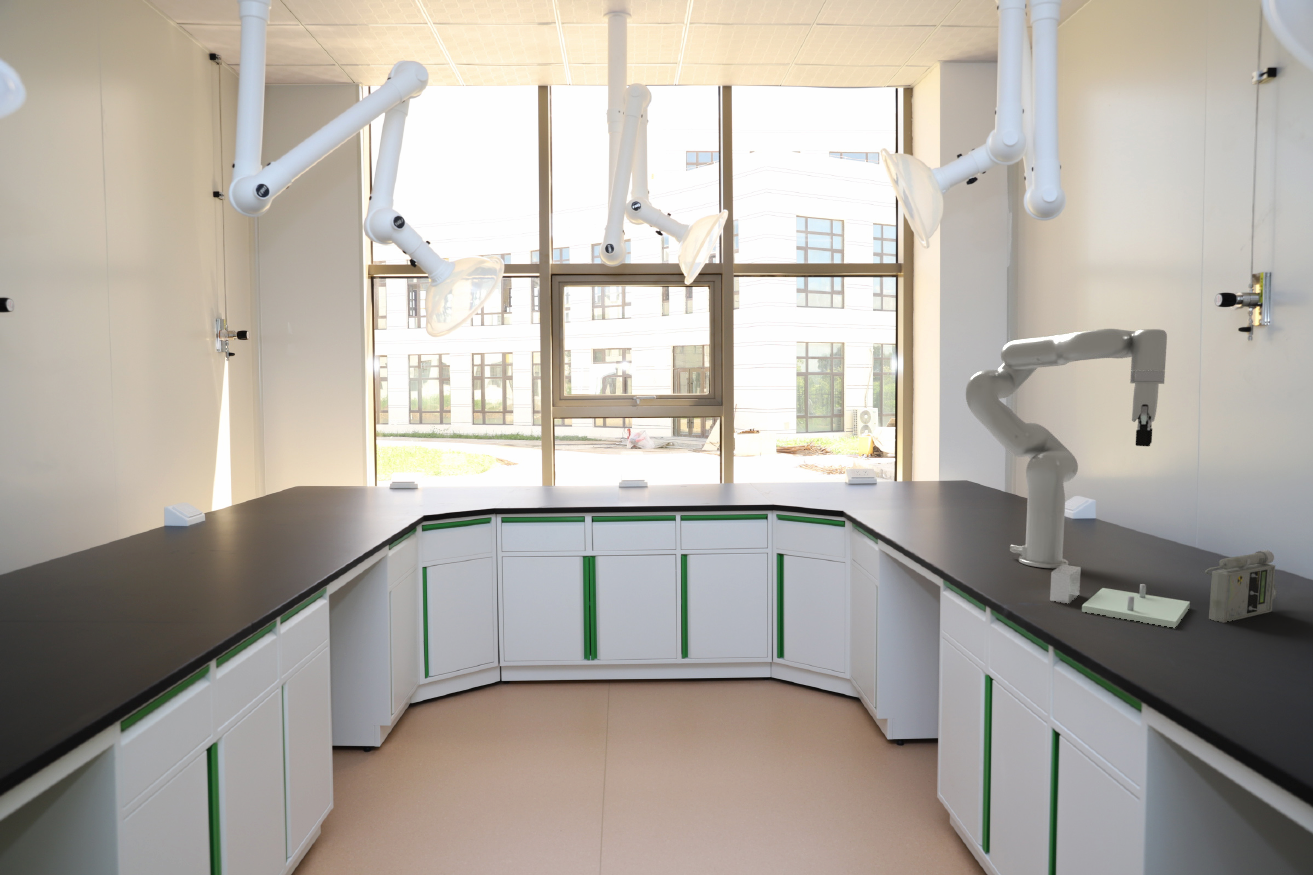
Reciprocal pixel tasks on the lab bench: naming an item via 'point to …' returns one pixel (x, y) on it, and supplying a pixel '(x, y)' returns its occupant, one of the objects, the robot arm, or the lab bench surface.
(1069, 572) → the block
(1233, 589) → the geiger counter
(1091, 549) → the lab bench surface
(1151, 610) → the pin plate
